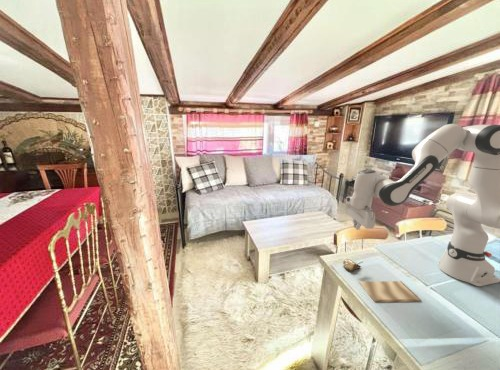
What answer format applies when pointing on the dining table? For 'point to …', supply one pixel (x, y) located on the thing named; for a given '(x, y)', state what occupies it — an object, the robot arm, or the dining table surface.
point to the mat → (389, 291)
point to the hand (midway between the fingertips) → (356, 228)
